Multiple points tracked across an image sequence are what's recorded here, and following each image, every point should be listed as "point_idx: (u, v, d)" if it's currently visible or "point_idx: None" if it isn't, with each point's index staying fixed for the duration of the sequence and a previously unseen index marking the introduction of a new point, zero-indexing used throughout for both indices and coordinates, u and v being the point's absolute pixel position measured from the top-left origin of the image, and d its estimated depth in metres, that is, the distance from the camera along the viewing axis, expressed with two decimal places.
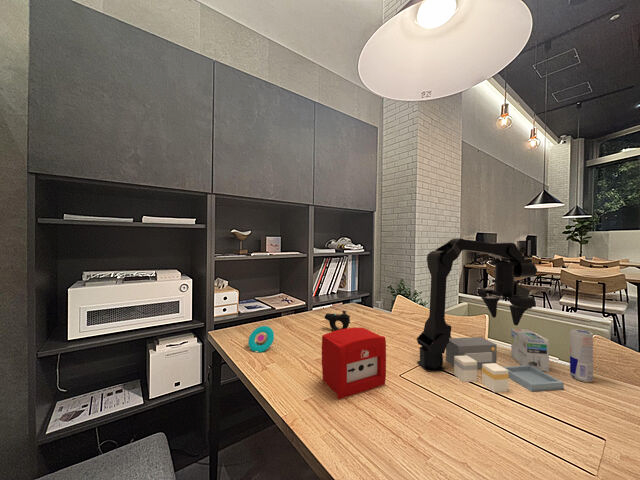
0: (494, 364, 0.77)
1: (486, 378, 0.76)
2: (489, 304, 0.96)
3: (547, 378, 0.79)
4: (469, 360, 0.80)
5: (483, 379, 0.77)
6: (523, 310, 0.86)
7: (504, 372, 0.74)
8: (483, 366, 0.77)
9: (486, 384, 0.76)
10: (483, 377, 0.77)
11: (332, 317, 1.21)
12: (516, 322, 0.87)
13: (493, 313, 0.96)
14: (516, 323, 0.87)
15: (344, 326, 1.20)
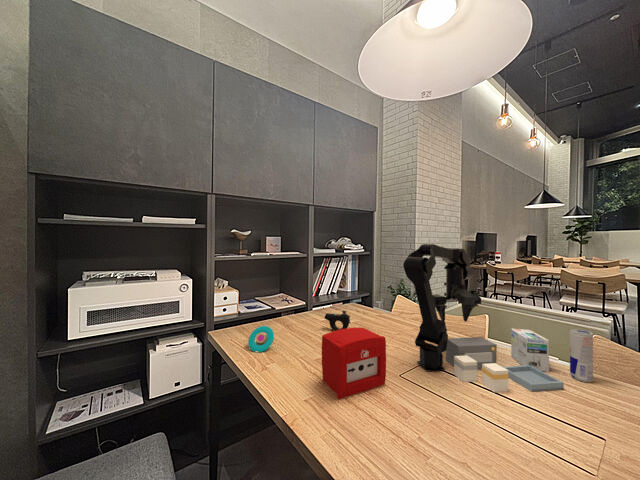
0: (494, 364, 0.77)
1: (486, 378, 0.76)
2: (462, 307, 1.01)
3: (547, 378, 0.79)
4: (469, 360, 0.80)
5: (483, 379, 0.77)
6: (440, 308, 0.96)
7: (504, 372, 0.74)
8: (483, 366, 0.77)
9: (486, 384, 0.76)
10: (483, 377, 0.77)
11: (332, 317, 1.21)
12: (441, 318, 0.98)
13: (464, 316, 0.99)
14: (442, 320, 0.98)
15: (344, 326, 1.20)
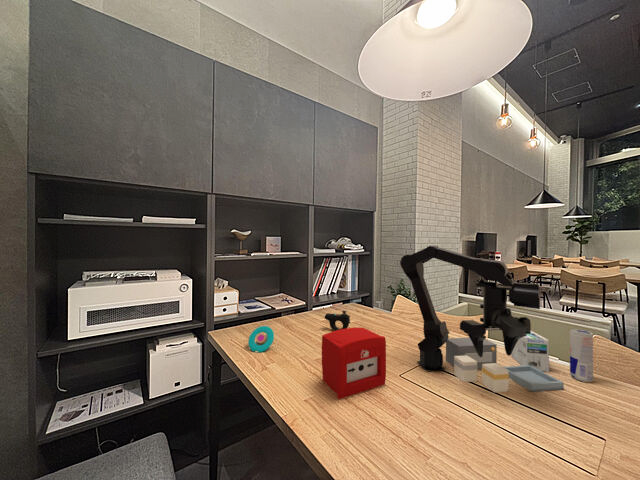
0: (494, 364, 0.77)
1: (486, 378, 0.76)
2: (504, 336, 0.78)
3: (547, 378, 0.79)
4: (469, 360, 0.80)
5: (483, 379, 0.77)
6: (477, 339, 0.74)
7: (504, 372, 0.74)
8: (483, 366, 0.77)
9: (486, 384, 0.76)
10: (483, 377, 0.77)
11: (332, 317, 1.21)
12: (478, 352, 0.75)
13: (506, 349, 0.77)
14: (478, 353, 0.75)
15: (344, 326, 1.20)
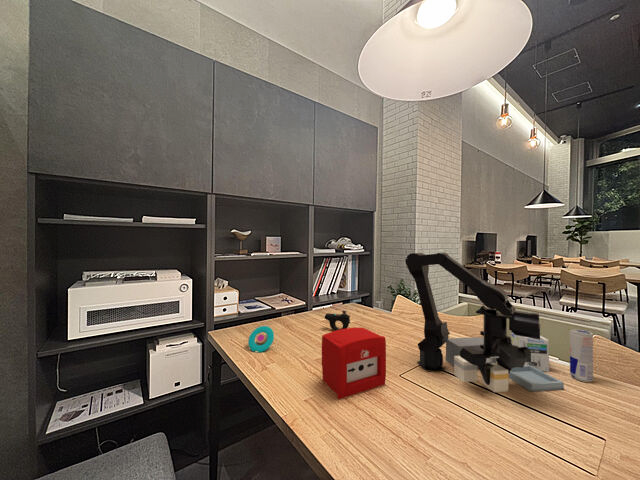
0: (494, 364, 0.77)
1: None
2: (498, 364, 0.78)
3: (547, 378, 0.79)
4: None
5: (483, 379, 0.77)
6: (484, 367, 0.74)
7: (504, 372, 0.74)
8: None
9: (486, 384, 0.76)
10: None
11: (332, 317, 1.21)
12: (485, 380, 0.76)
13: None
14: (485, 381, 0.75)
15: (344, 326, 1.20)
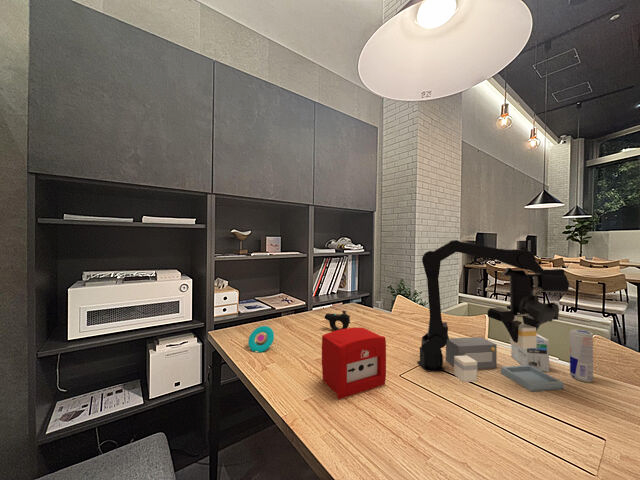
0: (521, 323, 0.80)
1: None
2: (525, 323, 0.80)
3: (547, 378, 0.79)
4: (469, 360, 0.80)
5: (511, 338, 0.80)
6: (512, 325, 0.77)
7: (532, 329, 0.76)
8: None
9: (514, 342, 0.78)
10: None
11: (332, 317, 1.21)
12: (513, 338, 0.78)
13: None
14: (513, 339, 0.78)
15: (344, 326, 1.20)
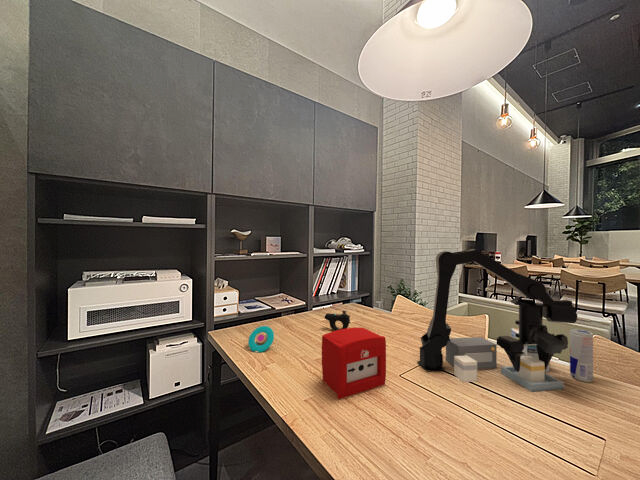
0: (529, 357, 0.81)
1: (522, 370, 0.80)
2: (538, 351, 0.82)
3: (547, 378, 0.79)
4: (469, 360, 0.80)
5: (519, 371, 0.81)
6: (515, 355, 0.78)
7: (540, 364, 0.77)
8: None
9: (522, 376, 0.80)
10: None
11: (332, 317, 1.21)
12: (514, 367, 0.79)
13: None
14: (515, 368, 0.79)
15: (344, 326, 1.20)
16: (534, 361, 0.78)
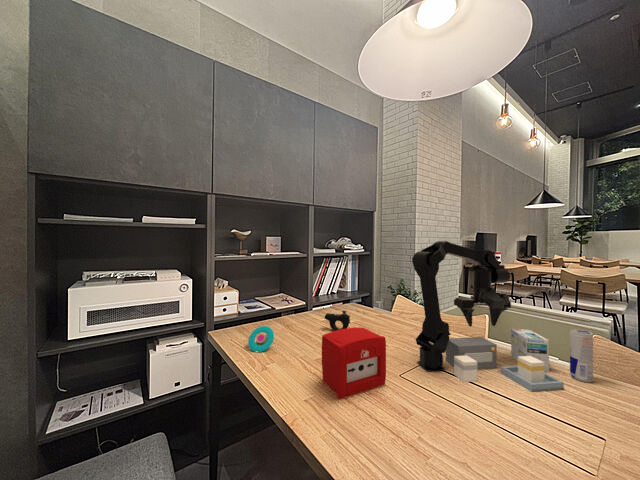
0: (529, 357, 0.81)
1: (522, 370, 0.80)
2: (490, 311, 0.97)
3: (547, 378, 0.79)
4: (469, 360, 0.80)
5: (519, 371, 0.81)
6: (467, 312, 0.93)
7: (540, 364, 0.77)
8: (519, 358, 0.81)
9: (522, 376, 0.80)
10: (519, 369, 0.81)
11: (332, 317, 1.21)
12: (468, 323, 0.95)
13: (492, 321, 0.96)
14: (468, 324, 0.94)
15: (344, 326, 1.20)
16: (534, 361, 0.78)
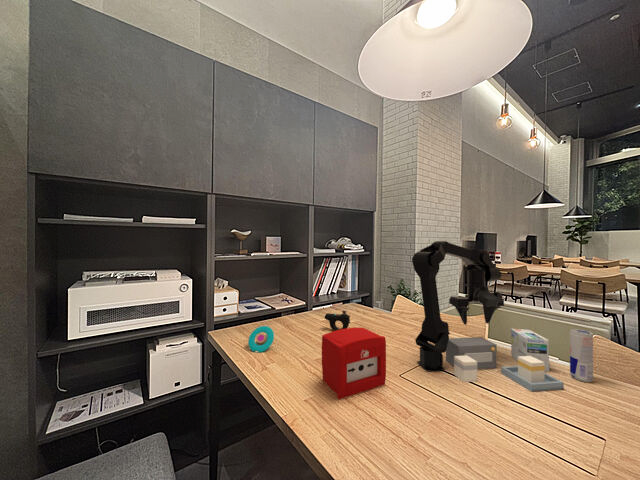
0: (529, 357, 0.81)
1: (522, 370, 0.80)
2: (484, 309, 0.99)
3: (547, 378, 0.79)
4: (469, 360, 0.80)
5: (519, 371, 0.81)
6: (462, 310, 0.95)
7: (540, 364, 0.77)
8: (519, 358, 0.81)
9: (522, 376, 0.80)
10: (519, 369, 0.81)
11: (332, 317, 1.21)
12: (463, 321, 0.96)
13: (485, 319, 0.98)
14: (463, 322, 0.96)
15: (344, 326, 1.20)
16: (534, 361, 0.78)
